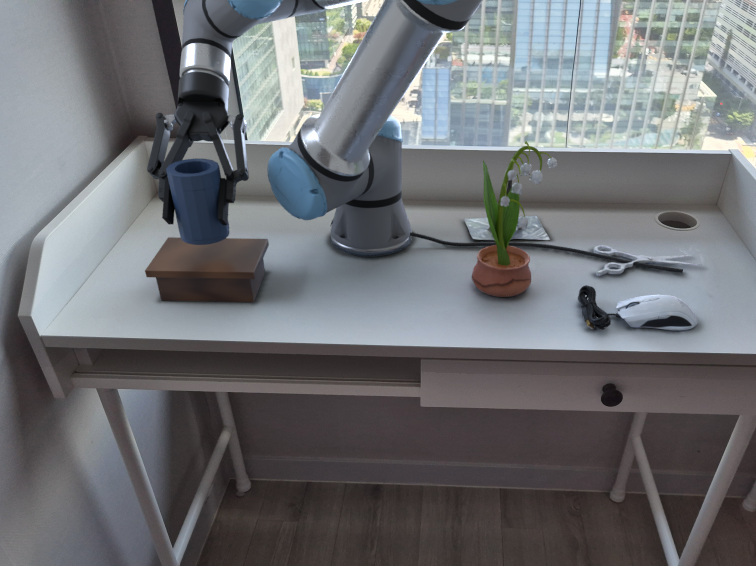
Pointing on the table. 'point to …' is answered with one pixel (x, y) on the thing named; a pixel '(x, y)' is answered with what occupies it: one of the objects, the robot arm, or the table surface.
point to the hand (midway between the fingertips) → (195, 221)
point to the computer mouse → (639, 311)
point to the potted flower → (506, 233)
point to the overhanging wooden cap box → (209, 270)
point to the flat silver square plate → (534, 231)
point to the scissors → (634, 257)
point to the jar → (197, 200)
